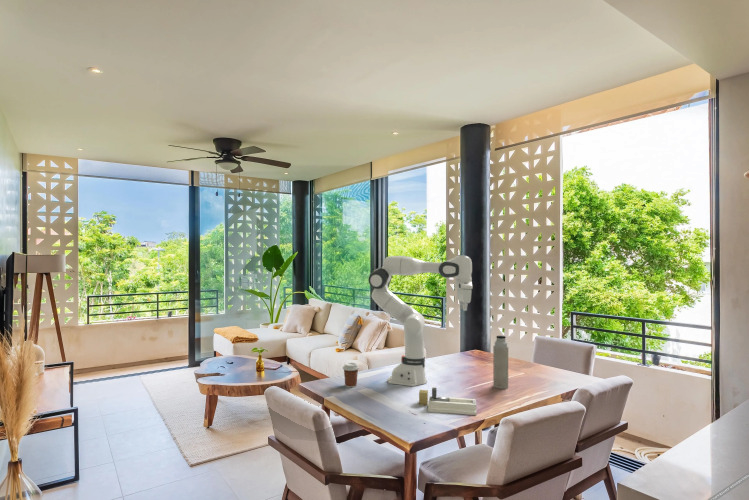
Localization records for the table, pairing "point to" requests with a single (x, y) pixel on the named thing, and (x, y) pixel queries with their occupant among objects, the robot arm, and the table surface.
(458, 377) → the table surface
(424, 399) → the block
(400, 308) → the robot arm
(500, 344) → the thermos bottle
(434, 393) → the shaft
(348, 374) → the coffee cup
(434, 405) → the cradle
